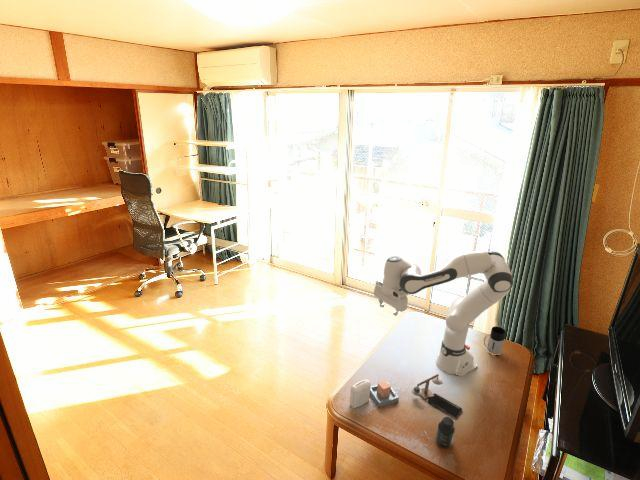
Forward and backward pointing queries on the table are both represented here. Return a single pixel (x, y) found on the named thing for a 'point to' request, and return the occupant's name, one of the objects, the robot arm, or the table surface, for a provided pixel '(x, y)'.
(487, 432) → the table surface
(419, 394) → the tipped balance
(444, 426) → the supplement bottle
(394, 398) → the dish
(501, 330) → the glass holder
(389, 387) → the terracotta block
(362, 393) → the photo printer
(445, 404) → the phone
